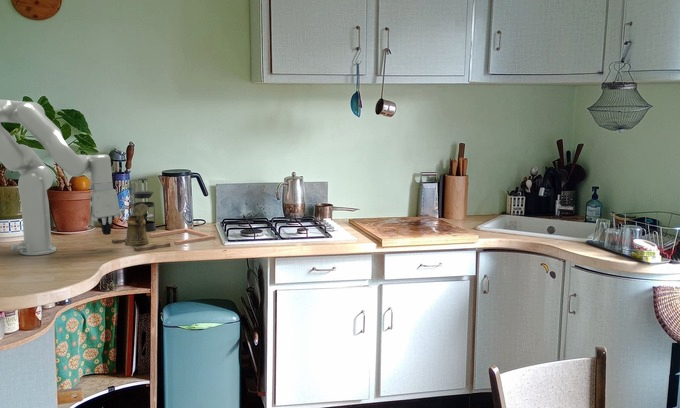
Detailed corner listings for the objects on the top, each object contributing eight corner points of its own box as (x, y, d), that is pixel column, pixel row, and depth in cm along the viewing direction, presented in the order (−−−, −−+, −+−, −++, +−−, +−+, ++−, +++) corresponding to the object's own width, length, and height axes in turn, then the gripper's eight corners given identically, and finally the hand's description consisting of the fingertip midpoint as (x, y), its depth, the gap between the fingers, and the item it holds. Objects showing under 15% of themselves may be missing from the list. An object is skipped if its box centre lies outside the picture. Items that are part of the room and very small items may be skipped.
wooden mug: (132, 249, 266) (130, 203, 263) (122, 243, 277) (120, 199, 274) (154, 246, 271) (153, 201, 268) (144, 240, 282) (142, 197, 279)
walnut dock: (137, 251, 262) (137, 248, 262) (111, 242, 278) (111, 239, 278) (170, 246, 272) (170, 243, 271) (143, 237, 287) (143, 234, 287)
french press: (157, 227, 309) (155, 176, 306) (157, 231, 300) (154, 179, 297) (130, 228, 307) (128, 177, 303) (129, 232, 298) (126, 180, 294)
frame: (177, 245, 274) (177, 242, 274) (150, 236, 289) (150, 233, 289) (215, 238, 286) (215, 235, 286) (187, 230, 302) (187, 228, 301)
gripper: (87, 190, 253) (92, 238, 256) (125, 185, 263) (129, 232, 266) (79, 188, 258) (83, 236, 261) (116, 183, 268) (120, 229, 271)
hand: (106, 234), depth 264 cm, fingers closed
